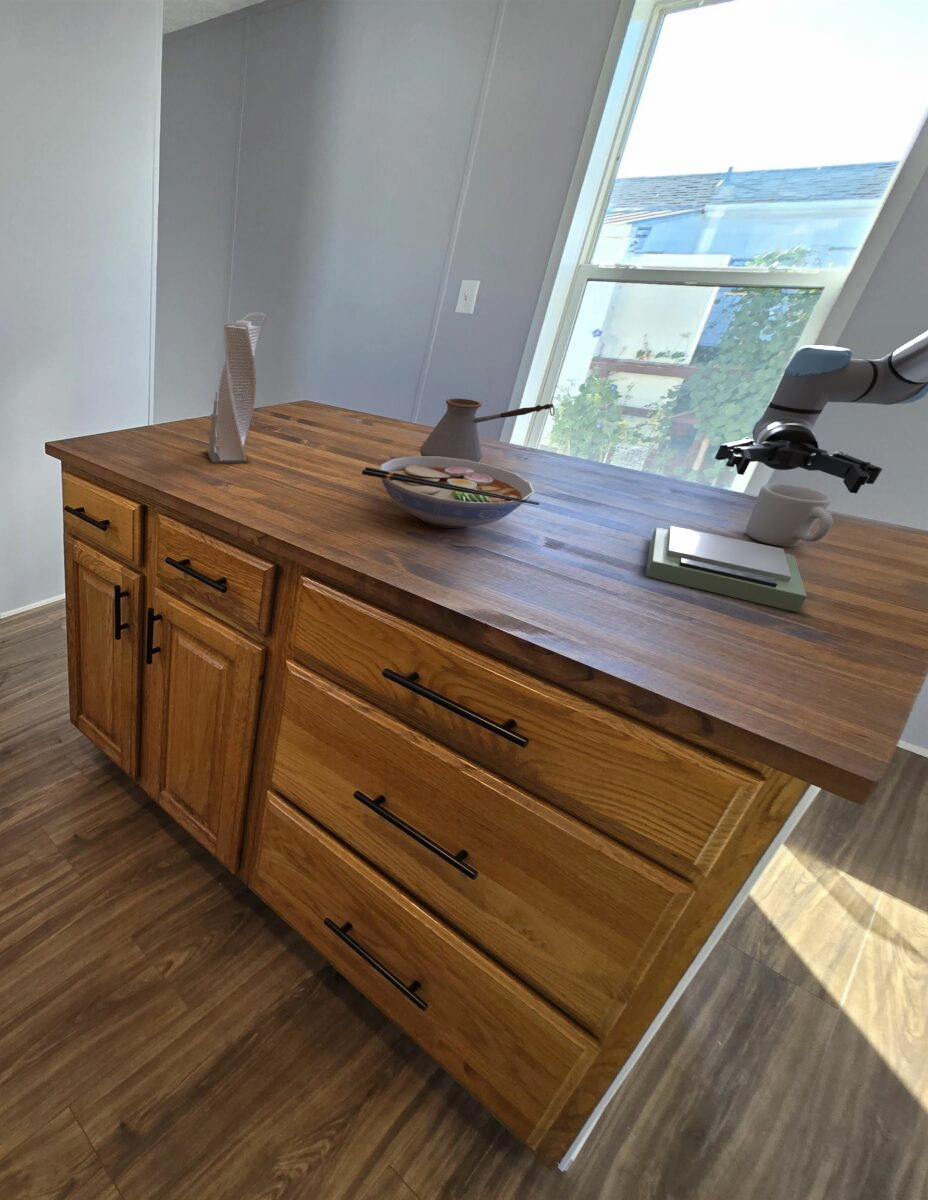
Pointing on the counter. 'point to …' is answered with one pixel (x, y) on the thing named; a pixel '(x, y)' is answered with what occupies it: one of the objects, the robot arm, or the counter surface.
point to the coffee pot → (464, 430)
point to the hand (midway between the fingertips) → (799, 475)
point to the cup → (788, 515)
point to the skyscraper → (235, 392)
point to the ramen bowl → (452, 490)
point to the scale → (726, 567)
